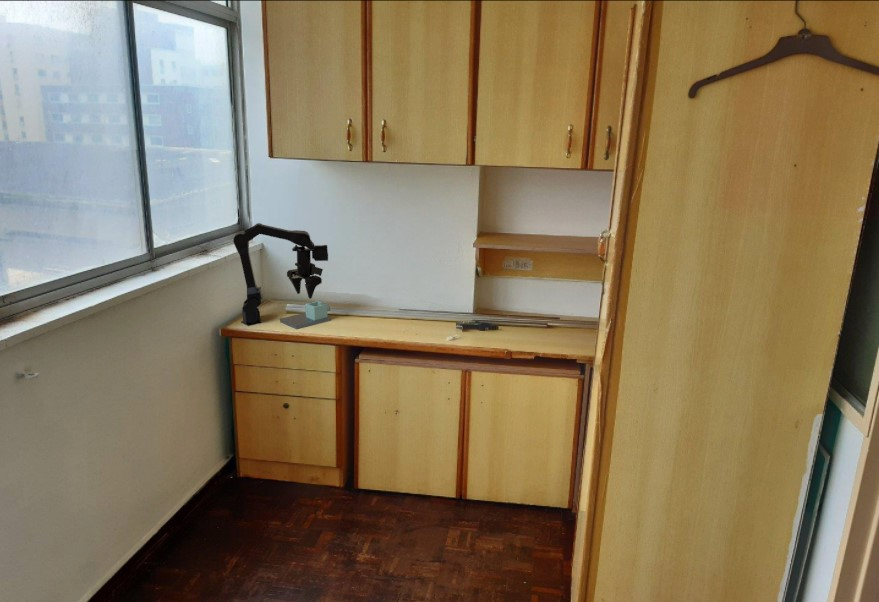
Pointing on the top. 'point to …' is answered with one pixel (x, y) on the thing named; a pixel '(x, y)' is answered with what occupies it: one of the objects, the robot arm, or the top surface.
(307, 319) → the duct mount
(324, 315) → the duct collar
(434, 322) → the top surface
